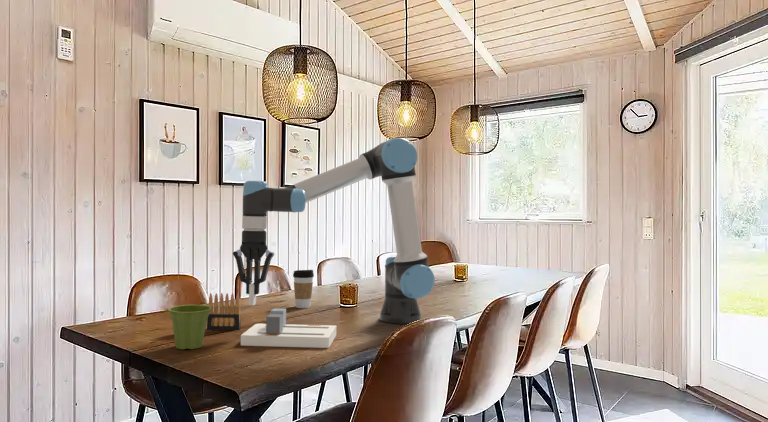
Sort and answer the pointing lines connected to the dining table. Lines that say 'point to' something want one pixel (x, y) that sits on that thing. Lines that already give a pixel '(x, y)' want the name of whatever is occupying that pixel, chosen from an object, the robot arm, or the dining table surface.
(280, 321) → the tab front
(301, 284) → the coffee cup
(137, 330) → the dining table surface
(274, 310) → the tab back
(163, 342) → the dining table surface
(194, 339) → the plant pot
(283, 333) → the switch panel
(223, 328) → the ammunition clip
